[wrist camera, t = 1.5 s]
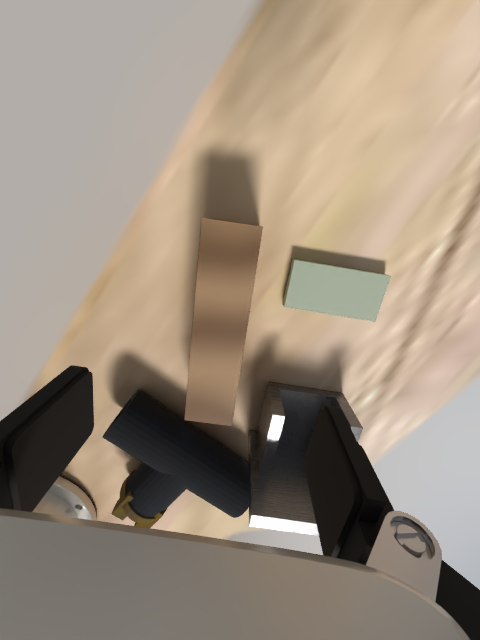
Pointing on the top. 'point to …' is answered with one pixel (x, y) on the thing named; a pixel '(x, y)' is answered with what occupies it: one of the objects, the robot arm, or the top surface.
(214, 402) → the walnut rail
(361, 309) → the pad
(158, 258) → the top surface
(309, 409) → the grey metal bracket
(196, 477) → the pipe connector
